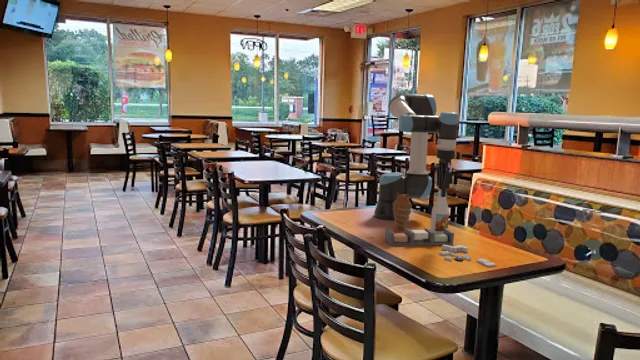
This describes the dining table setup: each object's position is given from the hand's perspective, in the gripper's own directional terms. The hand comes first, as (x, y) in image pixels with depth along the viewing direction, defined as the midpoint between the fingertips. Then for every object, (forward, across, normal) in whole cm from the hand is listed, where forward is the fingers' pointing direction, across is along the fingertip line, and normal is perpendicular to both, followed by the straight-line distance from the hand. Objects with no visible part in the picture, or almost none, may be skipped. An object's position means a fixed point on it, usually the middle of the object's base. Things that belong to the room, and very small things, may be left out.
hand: (441, 203), depth 201 cm
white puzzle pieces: (+18, +20, -1) cm, 27 cm away
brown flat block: (+16, +1, -18) cm, 24 cm away
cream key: (+15, +1, -9) cm, 17 cm away
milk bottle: (+18, -11, +5) cm, 21 cm away
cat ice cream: (+18, -20, -10) cm, 29 cm away
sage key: (+16, +1, 0) cm, 16 cm away
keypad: (+17, +1, -9) cm, 19 cm away
